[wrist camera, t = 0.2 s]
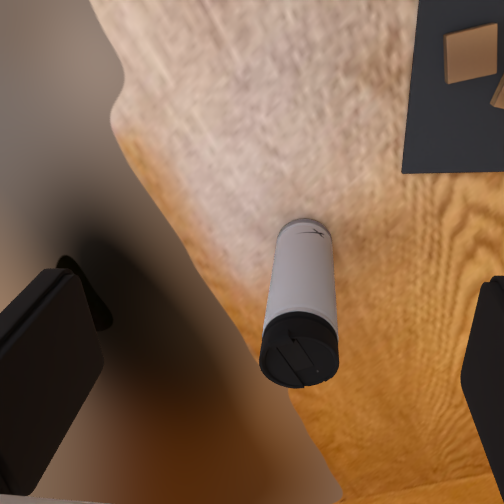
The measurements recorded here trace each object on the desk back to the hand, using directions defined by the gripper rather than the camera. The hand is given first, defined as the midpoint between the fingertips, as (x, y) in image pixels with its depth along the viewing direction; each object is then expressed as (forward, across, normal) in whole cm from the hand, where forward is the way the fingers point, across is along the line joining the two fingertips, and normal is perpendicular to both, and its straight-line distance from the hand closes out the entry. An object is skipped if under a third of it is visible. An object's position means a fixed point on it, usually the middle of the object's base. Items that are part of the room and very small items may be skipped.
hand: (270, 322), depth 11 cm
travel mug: (+37, 0, +18) cm, 41 cm away
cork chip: (+36, -14, -1) cm, 39 cm away
